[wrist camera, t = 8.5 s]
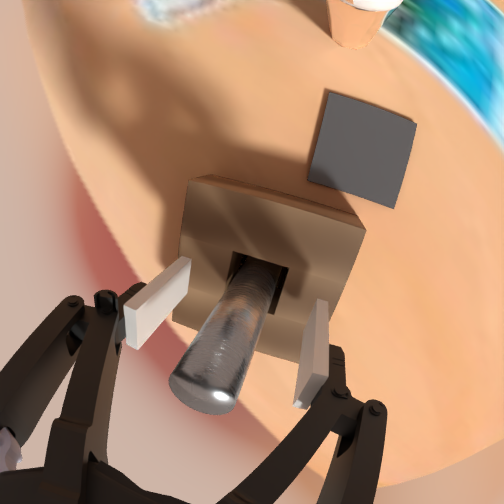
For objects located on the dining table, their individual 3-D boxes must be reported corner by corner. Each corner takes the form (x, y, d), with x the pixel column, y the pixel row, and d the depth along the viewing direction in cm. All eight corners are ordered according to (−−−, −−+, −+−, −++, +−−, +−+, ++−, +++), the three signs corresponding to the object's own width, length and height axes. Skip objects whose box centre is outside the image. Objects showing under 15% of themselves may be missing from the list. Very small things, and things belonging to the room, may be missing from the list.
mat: (329, 93, 17) (329, 91, 17) (415, 124, 16) (417, 123, 16) (307, 179, 20) (307, 180, 19) (392, 208, 19) (393, 209, 18)
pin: (250, 243, 23) (169, 358, 10) (286, 254, 22) (241, 386, 9) (243, 274, 24) (168, 398, 11) (276, 285, 23) (228, 422, 11)
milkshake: (307, 48, 16) (296, -23, 7) (334, 4, 14) (337, -72, 5) (362, 74, 16) (395, 17, 7) (386, 28, 14) (421, -37, 4)
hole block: (210, 174, 21) (188, 179, 18) (357, 216, 20) (366, 230, 16) (190, 298, 26) (171, 320, 22) (310, 336, 24) (307, 365, 21)
